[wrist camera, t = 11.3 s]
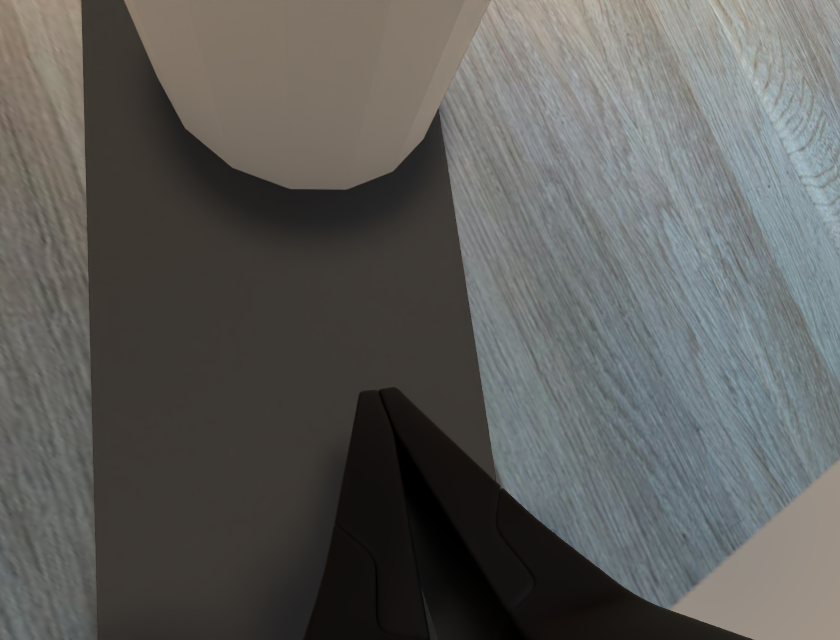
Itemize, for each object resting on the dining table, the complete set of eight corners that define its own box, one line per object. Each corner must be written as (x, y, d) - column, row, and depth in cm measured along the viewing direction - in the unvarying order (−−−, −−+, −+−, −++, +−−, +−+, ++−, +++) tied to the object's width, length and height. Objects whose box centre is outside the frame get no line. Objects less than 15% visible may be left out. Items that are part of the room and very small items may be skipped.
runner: (516, 618, 19) (518, 621, 19) (103, 756, 15) (100, 761, 14) (420, 2, 24) (421, -2, 24) (82, -45, 19) (79, -50, 19)
